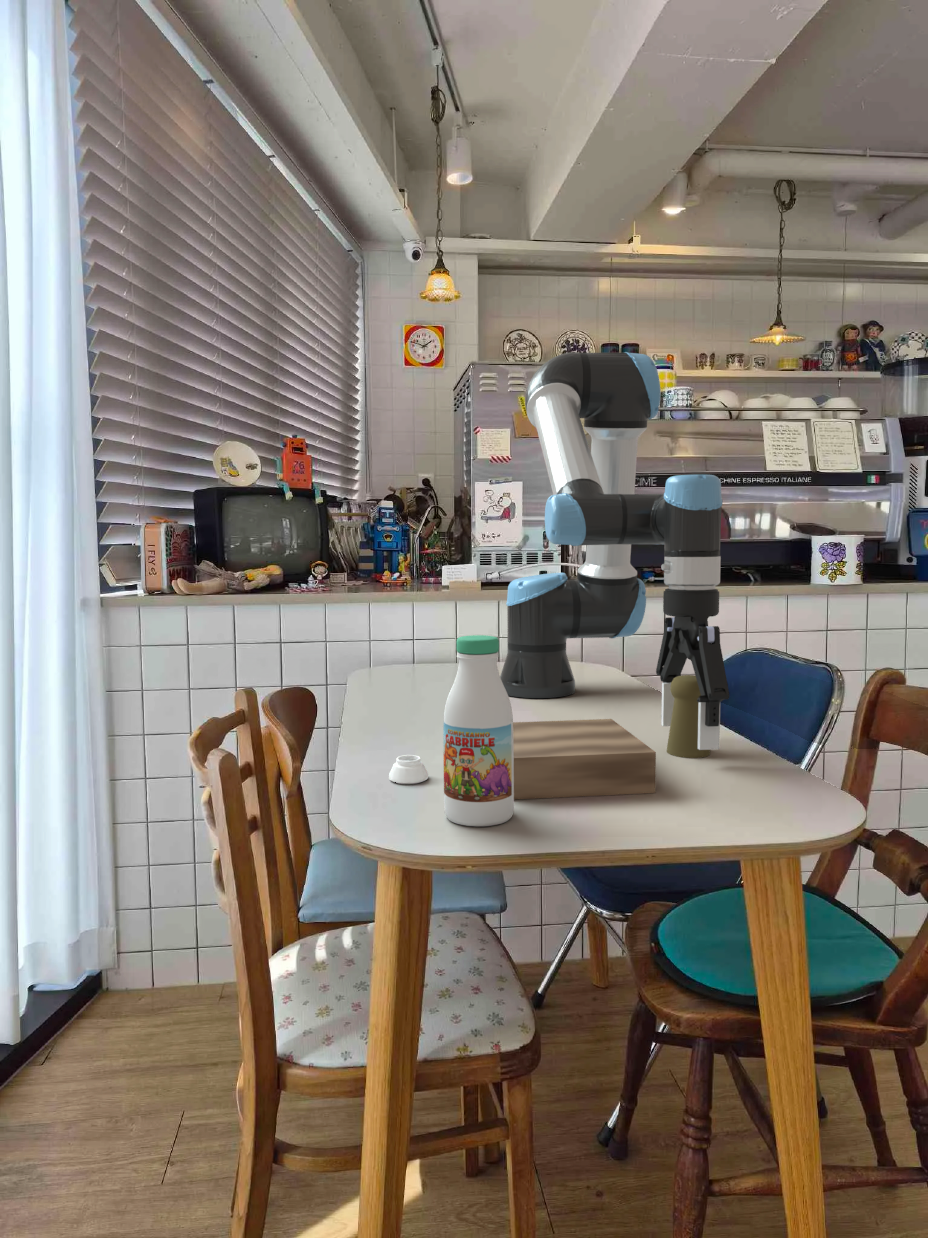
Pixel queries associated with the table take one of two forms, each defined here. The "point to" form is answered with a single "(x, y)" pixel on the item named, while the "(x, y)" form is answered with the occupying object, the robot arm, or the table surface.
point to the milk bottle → (478, 738)
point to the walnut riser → (580, 760)
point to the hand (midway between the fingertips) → (688, 736)
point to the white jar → (408, 770)
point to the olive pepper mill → (685, 719)
